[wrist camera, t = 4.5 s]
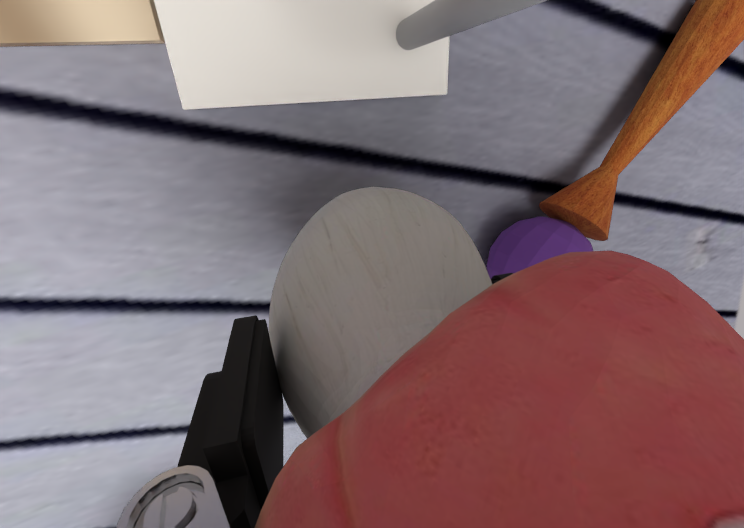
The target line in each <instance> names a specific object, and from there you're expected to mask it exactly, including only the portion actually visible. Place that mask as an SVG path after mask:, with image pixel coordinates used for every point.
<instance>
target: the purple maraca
mask: <svg viewBox="0 0 744 528" xmlns="http://www.w3.org/2000/svg"><path fill="white" fill-rule="evenodd" d="M743 40H744V0H696V1H695V3H694V5H693V6H692V8H691V10H690V11H689V13H688V15H687V17H686V18H685V20H684V22H683V24H682V25H681V27H680V29H679V31H678V32H677V34H676V36H675V37H674V39H673V41H672V43H671V44H670V46H669V48H668V50H667V51H666V53H665V55H664V56H663V58H662V60H661V62H660V63H659V65H658V67H657V69H656V70H655V72H654V74H653V75H652V77H651V79H650V81H649V82H648V84H647V86H646V88H645V89H644V91H643V93H642V94H641V96H640V98H639V100H638V101H637V103H636V105H635V107H634V108H633V110H632V112H631V114H630V115H629V117H628V119H627V120H626V122H625V124H624V126H623V127H622V129H621V131H620V133H619V134H618V136H617V138H616V139H615V141H614V143H613V145H612V146H611V148H610V150H609V152H608V153H607V155H606V157H605V158H604V160H603V162H602V164H601V165H600V167H598V168H597V169H595V170H593V171H592V172H590V173H589V174H587V175H585V176H584V177H582V178H580V179H579V180H577V181H575V182H574V183H572V184H570V185H569V186H567V187H565V188H564V189H562V190H560V191H559V192H557V193H555V194H554V195H552V196H550V197H549V198H547V199H545V200H544V201H542V202H540V204H539V207H540V209H541V210H542V211H543V212H544V213H545V214H546V215H547V216H548V217H550V218H548V217H535V218H530V219H525V220H520V221H518V222H516V223H515V224H513V225H511V226H510V227H508V228H507V229H505V230H504V231H502V232H501V234H500V235H499V236H498V238H497V239H496V241H495V242H494V243H493V245H492V246H491V248H490V252H489V257H488V261H487V271H488V274H489V277H490V279H491V278H492V277H493V276H494V275H500V274H506V273H516V272H518V271H521V270H523V269H525V268H528V267H530V266H532V265H535V264H537V263H540V262H542V261H544V260H547V259H549V258H552V257H555V256H559V255H562V254H566V253H569V252H589V251H593V248H592V245H591V243H590V241H589V240H588V239H587V238H586V237H588V238H591V239H594V240H600V241H604V240H607V239H608V233H609V227H610V221H611V215H612V209H613V203H614V197H615V191H616V185H617V179H618V175H619V174H620V173H621V172H622V170H623V169H624V168H625V167H626V166H627V165H628V164H629V163H630V162H631V161H632V160H633V159H634V157H635V156H636V155H637V154H638V153H639V152H640V151H641V150H642V149H643V148H644V147H645V146H646V145H647V143H648V142H649V141H650V140H651V139H652V138H653V137H654V136H655V135H656V134H657V133H658V132H659V131H660V129H661V128H662V127H663V126H664V125H665V124H666V123H667V122H668V121H669V120H670V119H671V118H672V116H673V115H674V114H675V113H676V112H677V111H678V110H679V109H680V108H681V107H682V106H683V105H684V104H685V102H686V101H687V100H688V99H689V98H690V97H691V96H692V95H693V94H694V93H695V92H696V91H697V90H698V88H699V87H700V86H701V85H702V84H703V83H704V82H705V81H706V80H707V79H708V78H709V77H710V75H711V74H712V73H713V72H714V71H715V70H716V69H717V68H718V67H719V66H720V65H721V64H722V63H723V61H724V60H725V59H726V58H727V57H728V56H729V55H730V54H731V53H732V52H733V51H734V50H735V48H736V47H737V46H738V45H739V44H740V43H741V42H742V41H743Z"/></svg>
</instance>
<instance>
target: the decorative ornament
mask: <svg viewBox="0 0 744 528" xmlns="http://www.w3.org/2000/svg"><path fill="white" fill-rule="evenodd" d="M269 337H270V341H271V346H272V351H273V355H274V360H275V364H276V369H277V374H278V380H279V384H280V389H281V392H282V394H283V397H284V399H285V401H286V403H287V406H288V408H289V410H290V412H291V413H292V415H293V417H294V419H295V420H296V422H297V424H298V425H299V427H300V429H301V430H302V432H303V433H304V435H305V436H306V437H307V440H305V441H304V442H303V443H302V444H300V445H299V446H298V447H297V448H296V449H295V451H294V452H293V453H292V455H291V456H290V458H289V459H288V461H287V462H286V464H285V465H284V467H283V468H282V470H281V471H280V472H279V474H278V475H277V477H276V478H275V481H274V483H273V485H272V487H271V489H270V492H269V494H268V496H267V498H266V500H265V503H264V505H263V507H262V509H261V512H260V514H259V517H258V520H257V523H256V525H255V528H744V339H743V338H742V337H741V336H740V335H739V334H738V333H737V332H736V331H735V330H734V329H733V328H732V327H731V326H730V325H729V324H728V323H727V322H726V321H725V320H724V319H723V318H722V317H721V316H720V315H719V314H718V313H717V312H716V311H715V310H714V309H713V308H712V307H711V306H710V305H709V304H708V303H707V302H706V301H705V300H704V299H702V298H701V297H700V296H699V295H697V294H696V293H695V292H694V291H692V290H691V289H690V288H689V287H687V286H686V285H685V284H683V283H682V282H681V281H679V280H678V279H677V278H676V277H674V276H673V275H672V274H670V273H669V272H668V271H666V270H664V269H662V268H659V267H657V266H655V265H653V264H651V263H649V262H647V261H644V260H642V259H639V258H636V257H633V256H631V255H628V254H623V253H619V252H614V251H589V252H569V253H566V254H562V255H559V256H555V257H552V258H549V259H547V260H544V261H542V262H540V263H537V264H535V265H532V266H530V267H528V268H525V269H523V270H521V271H518V272H516V273H514V274H512V275H510V276H508V277H506V278H504V279H502V280H500V281H498V282H496V283H494V284H492V282H491V279H490V277H489V274H488V272H487V269H486V267H485V265H484V262H483V260H482V258H481V256H480V254H479V252H478V250H477V248H476V246H475V244H474V242H473V241H472V239H471V238H470V236H469V235H468V233H467V232H466V231H465V229H464V228H463V227H462V225H461V224H460V223H459V221H458V220H457V219H456V218H454V217H453V216H452V215H451V214H450V213H449V212H447V211H446V210H445V209H443V208H442V207H441V206H439V205H437V204H435V203H434V202H432V201H430V200H428V199H426V198H424V197H421V196H419V195H417V194H415V193H412V192H408V191H404V190H400V189H396V188H383V187H367V188H360V189H356V190H352V191H348V192H345V193H343V194H341V195H339V196H337V197H336V198H334V199H333V200H331V201H330V202H328V203H327V204H325V205H324V206H323V207H322V208H321V209H320V210H318V211H317V212H316V213H315V214H314V215H313V216H312V217H311V219H310V220H309V221H308V222H307V223H306V224H305V225H304V227H303V228H302V229H301V231H300V232H299V234H298V235H297V237H296V238H295V240H294V241H293V243H292V244H291V246H290V248H289V249H288V251H287V253H286V255H285V257H284V259H283V261H282V264H281V266H280V269H279V271H278V274H277V277H276V281H275V284H274V288H273V291H272V297H271V303H270V312H269Z"/></svg>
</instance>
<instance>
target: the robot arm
mask: <svg viewBox="0 0 744 528" xmlns="http://www.w3.org/2000/svg"><path fill="white" fill-rule="evenodd" d="M512 274H514V273H506V274H500V275H494V276H493V277H492V278H491V282H492V284H494V283H496V282H498V281H500V280H502V279H504V278H506V277H508V276H510V275H512ZM282 468H283V397H282V392H281V389H280V384H279V380H278V374H277V369H276V364H275V360H274V355H273V351H272V346H271V341H270V337H269V332H268V328H267V324H266V320H265V319H264V320H258V318H257V316H250V317H244V318H238V319H235V320H234V323H233V327H232V331H231V335H230V339H229V343H228V347H227V352H226V356H225V360H224V364H223V368H222V371H220V372H215V373H210V374H207V375H206V376H205V378H204V381H203V384H202V387H201V391H200V394H199V397H198V400H197V404H196V407H195V410H194V414H193V417H192V420H191V424H190V427H189V430H188V433H187V437H186V440H185V443H184V447H183V450H182V453H181V457H180V460H179V463H178V466H177V467H176V468H173V469H171V470H169V471H166V472H164V473H162V474H160V475H158V476H157V477H155V478H154V479H152V480H151V481H149V482H148V483H147V484H146V485H145V486H143V487H142V488H141V489H140V490H139V491H138V492H137V493H136V494H135V495H134V496H133V498H132V499H131V500H130V502H129V503H128V504H127V506H126V507H125V508H124V510H123V512H122V515H121V517H120V519H119V521H118V524H117V528H255V525H256V523H257V520H258V517H259V514H260V512H261V509H262V507H263V505H264V503H265V500H266V498H267V496H268V494H269V492H270V489H271V487H272V485H273V483H274V481H275V478H276V477H277V475H278V474H279V472H280V471H281V470H282Z"/></svg>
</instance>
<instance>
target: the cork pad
mask: <svg viewBox="0 0 744 528" xmlns="http://www.w3.org/2000/svg"><path fill="white" fill-rule="evenodd" d="M160 43H165V40H164V36H163V33H162V29H161V25H160V21H159V18H158V14H157V10H156V6H155V3H154V0H0V47H7V46H58V45H109V44H160Z"/></svg>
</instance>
